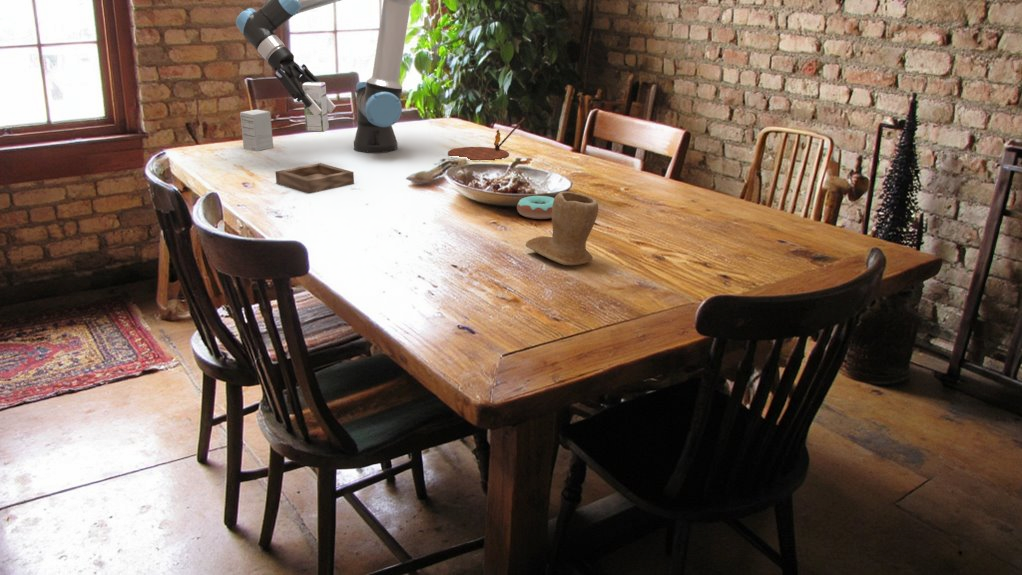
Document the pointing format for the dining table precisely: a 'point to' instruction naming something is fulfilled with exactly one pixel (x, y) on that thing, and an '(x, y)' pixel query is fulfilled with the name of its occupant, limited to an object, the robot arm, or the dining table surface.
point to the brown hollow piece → (568, 229)
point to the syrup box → (319, 97)
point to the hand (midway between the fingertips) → (325, 111)
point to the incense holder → (484, 150)
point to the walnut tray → (314, 177)
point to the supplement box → (256, 130)
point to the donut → (536, 207)
